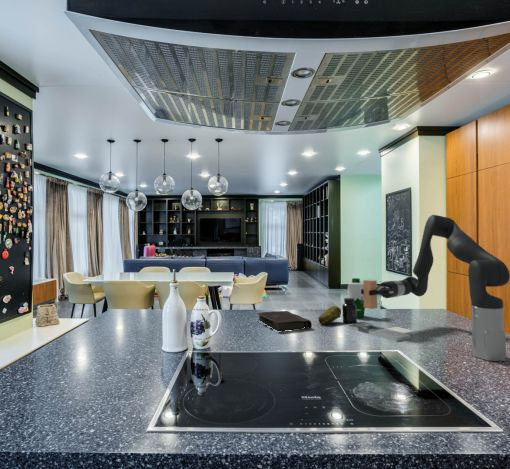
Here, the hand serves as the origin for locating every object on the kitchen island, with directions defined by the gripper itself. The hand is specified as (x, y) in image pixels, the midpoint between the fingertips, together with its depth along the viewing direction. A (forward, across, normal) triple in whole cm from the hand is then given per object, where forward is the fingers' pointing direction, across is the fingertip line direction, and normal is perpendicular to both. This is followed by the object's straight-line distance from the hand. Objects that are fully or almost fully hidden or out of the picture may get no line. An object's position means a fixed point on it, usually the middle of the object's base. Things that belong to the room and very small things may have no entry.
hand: (365, 292), depth 155 cm
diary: (+22, -33, +18) cm, 44 cm away
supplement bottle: (-8, -19, +18) cm, 27 cm away
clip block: (-3, 0, +7) cm, 8 cm away
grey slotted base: (-2, +4, +18) cm, 19 cm away
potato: (+1, -23, +18) cm, 30 cm away
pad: (-13, +6, +18) cm, 23 cm away
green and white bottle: (-21, -27, +18) cm, 39 cm away
